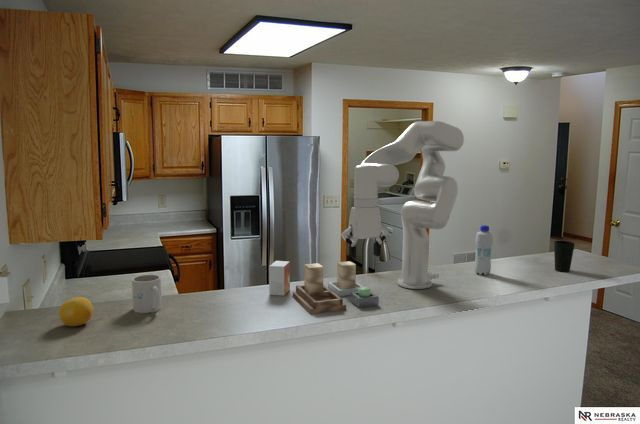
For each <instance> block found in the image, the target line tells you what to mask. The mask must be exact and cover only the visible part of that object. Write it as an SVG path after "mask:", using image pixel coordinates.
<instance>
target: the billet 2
mask: <svg viewBox="0 0 640 424" xmlns="http://www.w3.org/2000/svg"><path fill="white" fill-rule="evenodd" d="M336 268H337V270H336V274H337V275H336V279H337V280H336V281H337V287H338V288H339V289H340V290H343V289H352V288H355V287H356V281H357V279H356V275H357V274H356V273H357V271H356V270H357V269H356V268H357V264H356V263H354V262H352V261H349V260H348V261H339V262H337V265H336Z"/></svg>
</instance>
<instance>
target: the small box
mask: <svg viewBox="0 0 640 424" xmlns="http://www.w3.org/2000/svg"><path fill="white" fill-rule="evenodd" d="M268 281H269V282H268V285H269V287H268V289H269V291H268V293H269V295H270V296H283V297H284V296H285V295H286V294H287V293H288V292H289V291H290V290H291V262H290V260H289V261H286V260H285V261H284V260H275V261H274V262H272V264H270V265H269V266H268Z"/></svg>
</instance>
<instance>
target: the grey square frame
mask: <svg viewBox="0 0 640 424" xmlns="http://www.w3.org/2000/svg"><path fill="white" fill-rule="evenodd" d="M360 287H364V286H363V285H361V284H360V283H359V282H356V287H355V288H352V289H343V290H340V289H339V288H338V287H337V280H336V281H328V283H327V288H329V289H330V290H331V291H333V292H334V293H335V294H336V295H338V296H339V297H344V296H350V293H351V292H358V288H360Z"/></svg>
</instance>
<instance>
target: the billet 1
mask: <svg viewBox="0 0 640 424" xmlns="http://www.w3.org/2000/svg"><path fill="white" fill-rule="evenodd" d="M303 270H304V278H303V279H304V284H303V285H304V291H306V292H307V293H311V292H321V291H323V284H324V266H323V265H321V264H320V263H318V262H317V263H305V264H304V269H303Z"/></svg>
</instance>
